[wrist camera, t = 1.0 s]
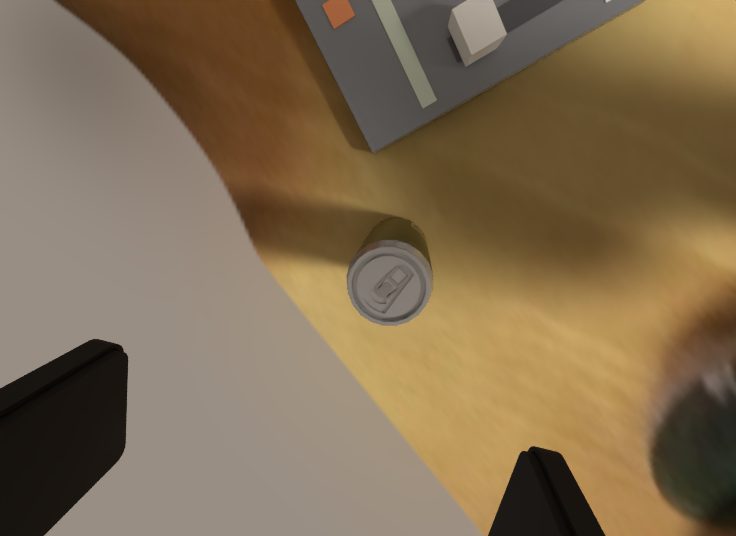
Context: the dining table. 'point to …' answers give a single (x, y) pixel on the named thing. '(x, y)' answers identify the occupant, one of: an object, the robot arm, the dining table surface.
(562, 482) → the robot arm
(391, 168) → the dining table surface
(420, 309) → the beer can
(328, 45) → the panel
